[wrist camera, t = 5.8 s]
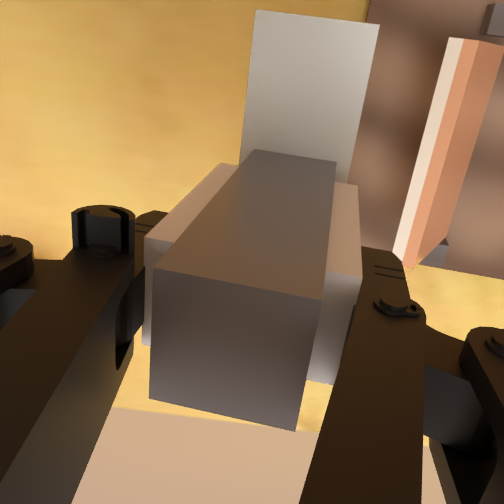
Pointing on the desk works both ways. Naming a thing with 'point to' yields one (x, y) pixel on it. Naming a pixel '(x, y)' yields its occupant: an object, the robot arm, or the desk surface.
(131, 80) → the desk surface
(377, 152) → the board
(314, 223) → the paddle
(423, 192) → the tile
